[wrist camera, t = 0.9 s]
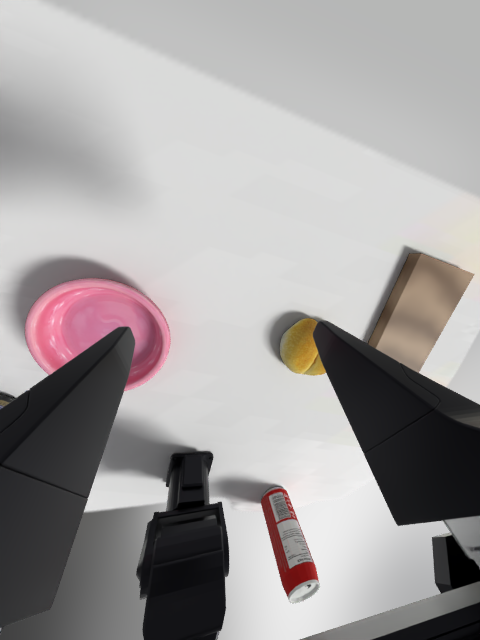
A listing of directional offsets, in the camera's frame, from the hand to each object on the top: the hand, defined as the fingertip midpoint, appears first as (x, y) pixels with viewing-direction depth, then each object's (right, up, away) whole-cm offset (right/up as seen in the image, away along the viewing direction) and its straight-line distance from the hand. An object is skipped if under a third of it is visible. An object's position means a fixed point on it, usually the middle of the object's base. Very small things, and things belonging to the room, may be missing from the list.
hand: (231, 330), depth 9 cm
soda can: (+7, -35, +28) cm, 45 cm away
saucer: (-14, -1, +12) cm, 19 cm away
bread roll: (+10, -3, +19) cm, 22 cm away
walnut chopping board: (+28, 0, +21) cm, 35 cm away
